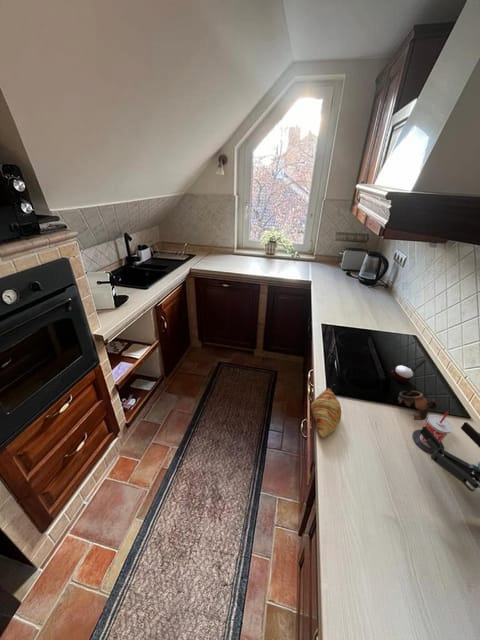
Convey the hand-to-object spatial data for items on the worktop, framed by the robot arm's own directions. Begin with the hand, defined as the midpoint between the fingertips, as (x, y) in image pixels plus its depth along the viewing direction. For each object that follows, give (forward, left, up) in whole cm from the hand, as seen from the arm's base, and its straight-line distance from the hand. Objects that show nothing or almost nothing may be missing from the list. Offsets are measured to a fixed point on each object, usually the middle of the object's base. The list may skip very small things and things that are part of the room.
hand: (443, 427), depth 75 cm
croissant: (+32, -3, -9) cm, 34 cm away
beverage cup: (0, -1, -9) cm, 9 cm away
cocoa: (0, -30, -9) cm, 31 cm away
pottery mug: (0, -14, -9) cm, 17 cm away
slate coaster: (0, -1, -9) cm, 9 cm away
